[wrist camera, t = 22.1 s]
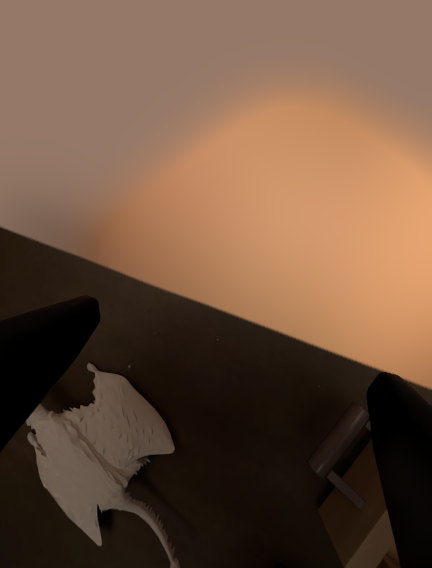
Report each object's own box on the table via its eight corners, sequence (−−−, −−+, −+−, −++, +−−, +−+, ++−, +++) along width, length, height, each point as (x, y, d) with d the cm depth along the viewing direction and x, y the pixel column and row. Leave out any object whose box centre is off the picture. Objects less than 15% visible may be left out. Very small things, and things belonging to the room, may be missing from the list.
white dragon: (238, 482, 19) (239, 525, 15) (152, 599, 18) (129, 679, 14) (81, 333, 22) (47, 334, 18) (1, 426, 21) (-55, 450, 17)
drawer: (275, 469, 18) (287, 512, 14) (356, 366, 19) (391, 377, 15) (443, 635, 16) (521, 748, 11) (527, 508, 16) (629, 570, 12)
